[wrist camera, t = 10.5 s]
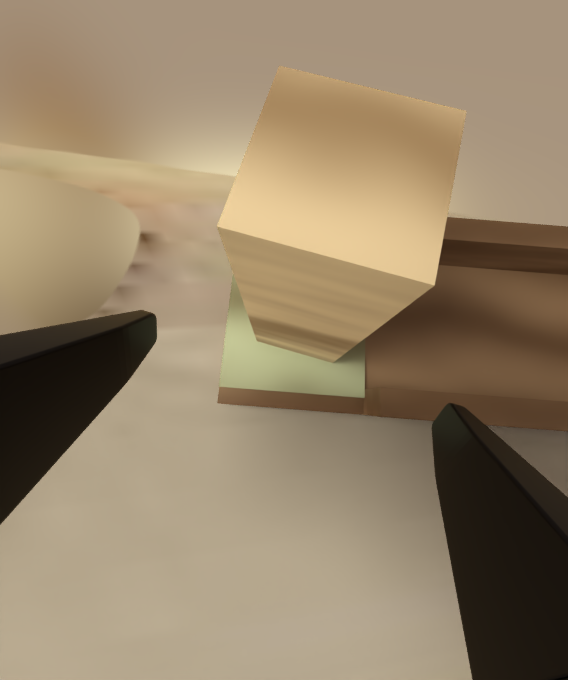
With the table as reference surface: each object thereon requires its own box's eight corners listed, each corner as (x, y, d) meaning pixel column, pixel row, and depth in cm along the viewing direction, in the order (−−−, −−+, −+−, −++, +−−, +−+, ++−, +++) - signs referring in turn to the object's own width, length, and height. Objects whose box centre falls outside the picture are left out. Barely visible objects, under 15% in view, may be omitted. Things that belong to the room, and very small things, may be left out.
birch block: (332, 362, 18) (434, 285, 6) (256, 341, 18) (217, 226, 6) (350, 291, 19) (466, 110, 7) (278, 271, 19) (279, 65, 7)
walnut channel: (644, 435, 20) (779, 447, 15) (224, 403, 20) (204, 403, 14) (613, 277, 23) (717, 238, 17) (243, 248, 22) (232, 200, 17)
